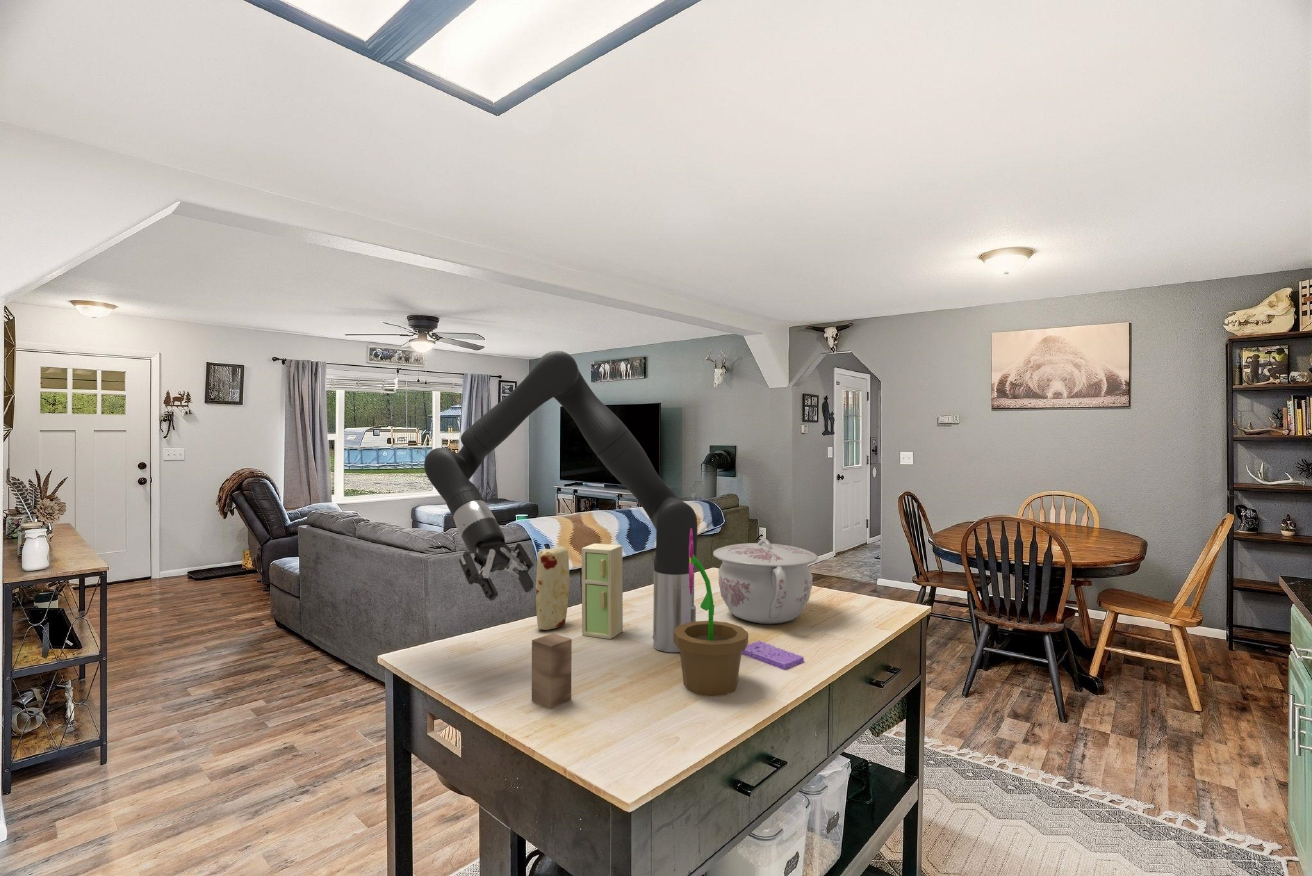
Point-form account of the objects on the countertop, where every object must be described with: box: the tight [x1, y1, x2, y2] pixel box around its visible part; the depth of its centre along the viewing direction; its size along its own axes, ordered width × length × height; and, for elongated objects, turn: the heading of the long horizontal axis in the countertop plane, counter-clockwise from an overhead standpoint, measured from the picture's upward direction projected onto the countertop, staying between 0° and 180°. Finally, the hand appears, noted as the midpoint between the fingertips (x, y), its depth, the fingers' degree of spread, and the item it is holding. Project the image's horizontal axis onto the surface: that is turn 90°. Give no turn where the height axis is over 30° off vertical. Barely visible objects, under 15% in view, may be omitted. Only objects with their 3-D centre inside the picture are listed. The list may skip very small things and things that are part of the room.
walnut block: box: [531, 633, 573, 710], centre depth 112 cm, size 5×5×11 cm
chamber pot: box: [712, 538, 819, 625], centre depth 164 cm, size 28×28×21 cm
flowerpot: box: [673, 528, 749, 697], centre depth 119 cm, size 14×14×30 cm
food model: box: [535, 545, 570, 631], centre depth 153 cm, size 10×7×20 cm
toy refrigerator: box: [581, 543, 624, 640], centre depth 149 cm, size 8×7×21 cm
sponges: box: [741, 640, 805, 670], centre depth 134 cm, size 7×13×2 cm, turn 41°
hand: (512, 593), depth 120 cm, fingers open, 8 cm apart
